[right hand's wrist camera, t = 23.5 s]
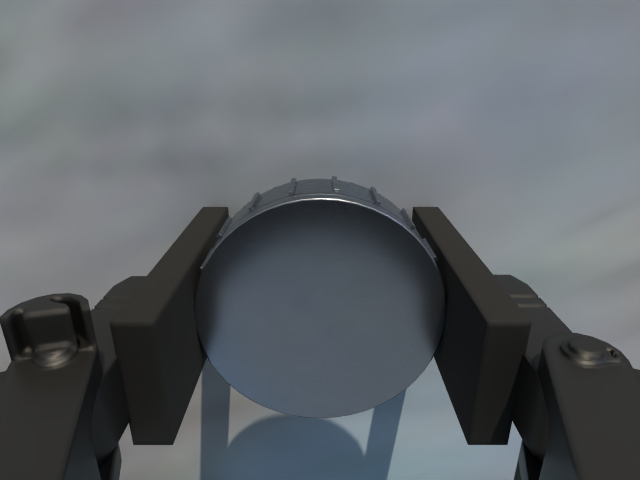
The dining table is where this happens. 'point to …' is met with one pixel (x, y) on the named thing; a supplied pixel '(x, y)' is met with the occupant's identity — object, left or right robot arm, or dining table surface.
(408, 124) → the dining table surface
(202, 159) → the dining table surface
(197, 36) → the dining table surface
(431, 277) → the lid
